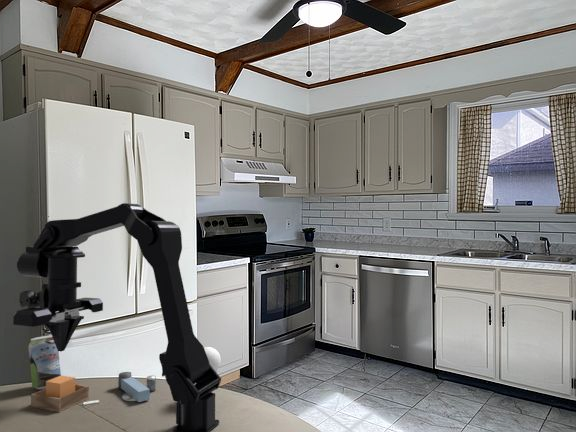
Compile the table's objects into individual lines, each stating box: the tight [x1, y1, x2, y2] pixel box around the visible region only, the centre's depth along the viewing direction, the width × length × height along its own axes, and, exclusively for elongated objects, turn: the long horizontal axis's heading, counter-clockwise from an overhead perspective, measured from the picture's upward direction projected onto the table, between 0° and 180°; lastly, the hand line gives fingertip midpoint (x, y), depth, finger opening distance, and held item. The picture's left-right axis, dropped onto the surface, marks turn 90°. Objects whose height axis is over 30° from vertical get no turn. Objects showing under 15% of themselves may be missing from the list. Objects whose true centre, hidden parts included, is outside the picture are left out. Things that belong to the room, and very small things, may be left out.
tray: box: [30, 383, 90, 413], centre depth 95 cm, size 8×8×3 cm
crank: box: [117, 371, 151, 403], centre depth 100 cm, size 13×3×3 cm, turn 40°
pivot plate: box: [121, 392, 138, 402], centre depth 98 cm, size 6×6×1 cm
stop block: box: [45, 375, 76, 398], centre depth 95 cm, size 4×4×4 cm
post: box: [146, 375, 157, 393], centre depth 102 cm, size 2×2×3 cm
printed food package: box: [28, 334, 62, 390], centre depth 104 cm, size 6×7×12 cm
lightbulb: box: [203, 346, 222, 373], centre depth 98 cm, size 6×6×11 cm
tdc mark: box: [83, 399, 100, 406], centre depth 94 cm, size 3×1×1 cm, turn 115°
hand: (61, 350), depth 95 cm, fingers closed
